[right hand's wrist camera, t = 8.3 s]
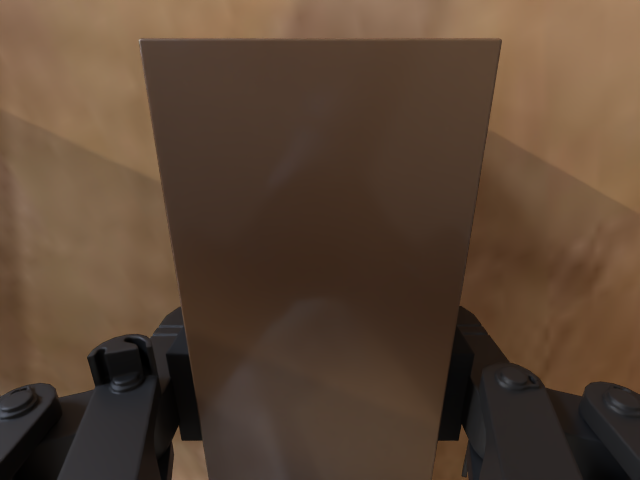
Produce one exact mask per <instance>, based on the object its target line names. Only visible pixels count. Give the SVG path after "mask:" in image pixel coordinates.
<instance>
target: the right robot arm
mask: <svg viewBox="0 0 640 480" xmlns="http://www.w3.org/2000/svg"><path fill="white" fill-rule="evenodd" d="M87 359H88V362H89V366H90V369H91V373H92V376H93V380H94V383H95V389H94V390H90V391H87V392H82V393H78V394H74V395H69V396H65V397H60V398H58V395H57V392H56V389H55V388H54V387H53V386H52V385H50V384H44V383H37V384H31V385H26V386H23V387H20V388H17V389H14V390H12V391H10V392H8V393H6V394H4V395H2V396H1V397H0V480H171V479H172V469H173V460H174V451H173V445H172V439H173V437H174V434H175V432H176V430H177V428H178V425H179V428H180V434H181V439H182V441H203V440H202V433H201V427H200V421H199V415H198V408H197V402H196V396H195V390H194V383H193V377H192V371H191V365H190V358H189V352H188V346H187V339H186V333H185V327H184V321H183V314H182V308H181V307H179V308H177V309H176V310H174V311H173V312H171V313H170V314H168V315H167V316H166V317H165V318H164V320H163V321H162V323H161V324H160V325H159V328H157V329H156V331H155V332H154V333H153V336H151V337H150V339H149V338H148V337H147V336H144V335H140V334H129V335H123V336H119V337H115V338H112V339H110V340H108V341H106V342H103V343H102V344H100V345H99V346H97V347H96V348H95V349H93V350H92V351H91V353H90V354H89V355H88V356H87ZM461 424H462V425H463V428H464V430H465V432H466V434H467V437H468V439H469V440H468V445H467V450H466V455H465V460H464V465H463V470H462V476H463V477H467V472H468V478H469V480H640V395H639V394H638V393H636V392H634V391H632V390H630V389H628V388H625V387H623V386H620V385H616V384H613V383H607V382H593V383H590V384H589V385H587V386H586V387H585V390H584V393H583V396H578V395H573V394H569V393H564V392H560V391H555V390H552V389H548V388H545V386H544V385H543V383H542V382H541V380H540V379H539V378H538V377H537V376H536V375H535V374H533V373H532V372H531V371H529V370H527V369H525V368H523V367H521V366H519V365H516V364H513V363H510V362H509V361H508V360H507V358H506V357H505V356H504V354H503V353H502V352H501V350H500V349H499V348H498V346H497V345H496V344H495V342H494V341H493V339H492V338H491V337H490V335H488V333H487V331H486V330H485V329H484V327H482V326H481V323H480V322H479V321H478V319H477V318H476V317H475V315H474V314H472V313H471V312H469V311H468V310H466V309H465V308H463V307H462V306H459V311H458V317H457V323H456V330H455V336H454V342H453V348H452V355H451V361H450V367H449V373H448V379H447V386H446V392H445V398H444V404H443V411H442V417H441V423H440V429H439V436H438V441H458V440H459V435H460V430H461Z"/></svg>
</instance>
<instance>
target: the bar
mask: <svg viewBox="0 0 640 480" xmlns="http://www.w3.org/2000/svg"><path fill="white" fill-rule="evenodd" d="M501 43H502V40H501V39H499V38H141V39H139V45H140V52H141V58H142V64H143V70H144V77H145V83H146V89H147V95H148V102H149V108H150V114H151V120H152V127H153V133H154V139H155V146H156V152H157V158H158V164H159V171H160V177H161V183H162V189H163V196H164V202H165V208H166V214H167V221H168V227H169V233H170V239H171V246H172V252H173V258H174V264H175V271H176V277H177V283H178V289H179V296H180V302H181V308H182V314H183V321H184V327H185V333H186V339H187V346H188V352H189V358H190V365H191V371H192V377H193V383H194V390H195V396H196V402H197V408H198V415H199V421H200V427H201V433H202V440H203V446H204V452H205V458H206V465H207V471H208V477H209V480H431V479H432V473H433V467H434V460H435V454H436V448H437V442H438V436H439V429H440V423H441V417H442V411H443V404H444V398H445V392H446V386H447V379H448V373H449V367H450V361H451V355H452V348H453V342H454V336H455V330H456V323H457V317H458V311H459V305H460V298H461V292H462V286H463V280H464V274H465V267H466V261H467V255H468V249H469V242H470V236H471V230H472V224H473V217H474V211H475V205H476V199H477V193H478V186H479V180H480V174H481V168H482V161H483V155H484V149H485V143H486V136H487V130H488V124H489V118H490V112H491V105H492V99H493V93H494V87H495V80H496V74H497V68H498V62H499V55H500V49H501Z"/></svg>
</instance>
